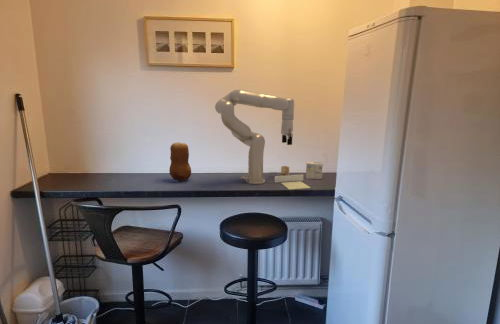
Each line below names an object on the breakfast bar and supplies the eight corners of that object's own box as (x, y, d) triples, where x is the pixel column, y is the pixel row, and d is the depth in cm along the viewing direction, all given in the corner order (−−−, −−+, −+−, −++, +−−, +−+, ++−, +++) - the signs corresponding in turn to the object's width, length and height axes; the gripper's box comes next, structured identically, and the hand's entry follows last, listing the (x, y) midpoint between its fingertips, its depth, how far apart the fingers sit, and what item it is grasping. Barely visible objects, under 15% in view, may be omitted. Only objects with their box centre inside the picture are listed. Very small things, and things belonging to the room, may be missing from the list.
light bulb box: (320, 177, 216) (321, 161, 214) (322, 179, 210) (323, 163, 207) (305, 176, 217) (306, 161, 215) (306, 178, 211) (306, 163, 208)
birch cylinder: (282, 179, 208) (282, 168, 206) (279, 177, 213) (280, 166, 211) (290, 179, 209) (290, 167, 208) (287, 177, 215) (287, 165, 213)
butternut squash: (190, 177, 211) (189, 140, 206) (192, 182, 198) (191, 143, 193) (169, 178, 208) (168, 141, 202) (169, 183, 195) (168, 144, 190)
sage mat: (289, 189, 186) (289, 189, 186) (280, 183, 199) (280, 182, 199) (310, 188, 189) (310, 187, 189) (301, 182, 203) (301, 181, 203)
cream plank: (274, 182, 201) (275, 176, 200) (274, 182, 202) (274, 176, 201) (303, 180, 206) (303, 174, 206) (302, 180, 207) (303, 174, 206)
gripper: (277, 116, 210) (277, 141, 213) (287, 118, 193) (286, 145, 197) (288, 116, 211) (287, 141, 215) (298, 118, 195) (297, 145, 199)
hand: (286, 143), depth 206 cm, fingers open, 9 cm apart
